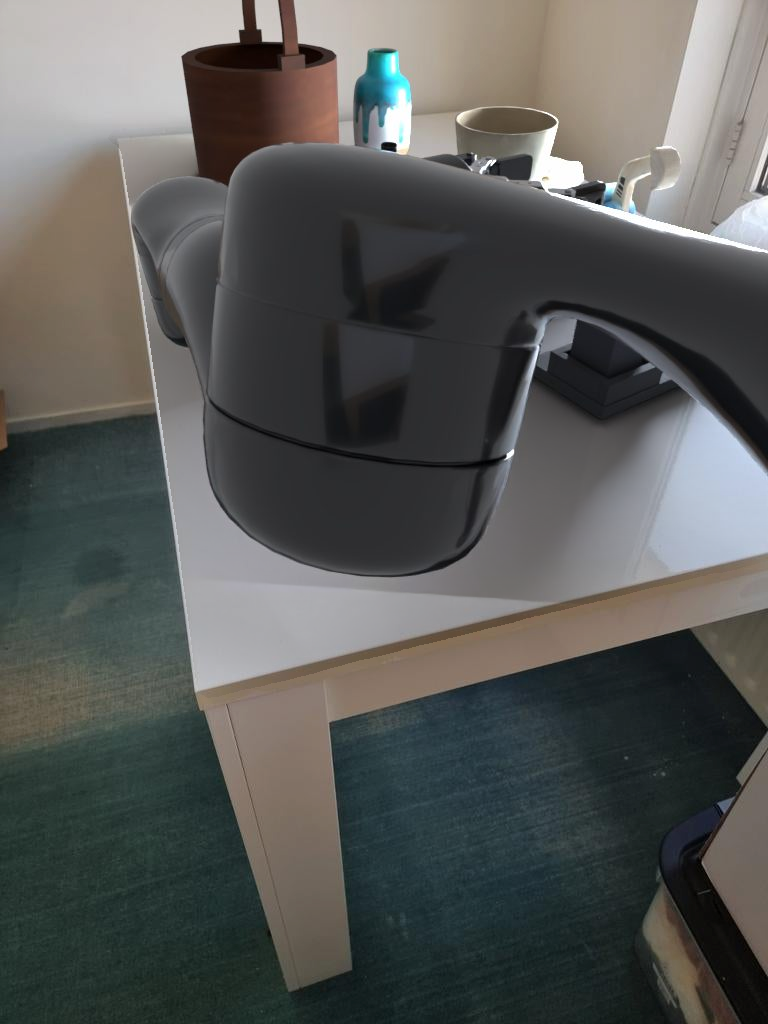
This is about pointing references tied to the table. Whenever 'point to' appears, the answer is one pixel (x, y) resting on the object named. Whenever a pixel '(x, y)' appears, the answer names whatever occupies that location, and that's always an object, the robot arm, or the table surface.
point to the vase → (382, 103)
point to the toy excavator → (658, 164)
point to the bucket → (259, 94)
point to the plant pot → (507, 134)
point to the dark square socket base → (600, 383)
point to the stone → (562, 173)
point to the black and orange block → (602, 352)
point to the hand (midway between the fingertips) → (563, 180)
